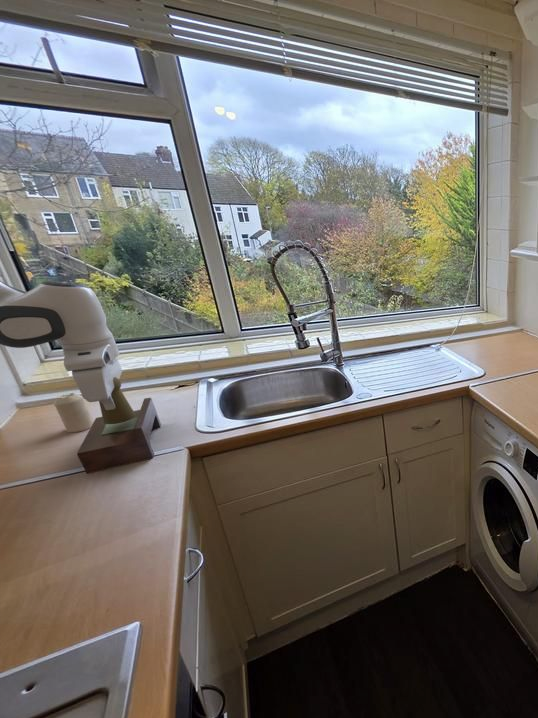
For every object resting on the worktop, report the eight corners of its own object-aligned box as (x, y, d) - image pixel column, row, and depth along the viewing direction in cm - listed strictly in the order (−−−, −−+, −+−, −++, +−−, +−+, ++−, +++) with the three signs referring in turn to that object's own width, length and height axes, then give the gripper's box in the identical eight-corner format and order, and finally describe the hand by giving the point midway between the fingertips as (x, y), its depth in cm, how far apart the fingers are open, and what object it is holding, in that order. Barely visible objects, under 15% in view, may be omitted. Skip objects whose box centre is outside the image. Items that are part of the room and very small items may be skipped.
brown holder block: (86, 473, 93) (71, 442, 90) (103, 435, 108) (91, 407, 105) (153, 458, 100) (141, 428, 96) (161, 424, 115) (151, 397, 111)
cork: (134, 410, 106) (119, 371, 102) (136, 418, 102) (121, 378, 98) (103, 418, 102) (85, 377, 98) (104, 426, 98) (86, 385, 94)
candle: (92, 420, 116) (77, 388, 112) (97, 426, 113) (82, 394, 109) (64, 428, 112) (49, 395, 108) (69, 434, 109) (53, 401, 105)
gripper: (84, 341, 101) (104, 391, 107) (61, 366, 86) (86, 424, 91) (118, 338, 104) (136, 387, 110) (101, 361, 89) (123, 417, 94)
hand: (113, 404), depth 100 cm, fingers closed on cork, 4 cm apart
